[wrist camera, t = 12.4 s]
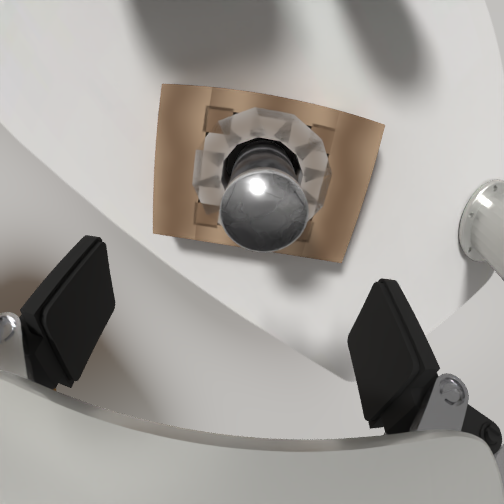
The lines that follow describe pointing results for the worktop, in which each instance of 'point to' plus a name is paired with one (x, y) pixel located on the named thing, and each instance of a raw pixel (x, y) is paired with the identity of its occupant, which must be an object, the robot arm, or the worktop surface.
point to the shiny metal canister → (263, 200)
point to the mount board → (244, 129)
